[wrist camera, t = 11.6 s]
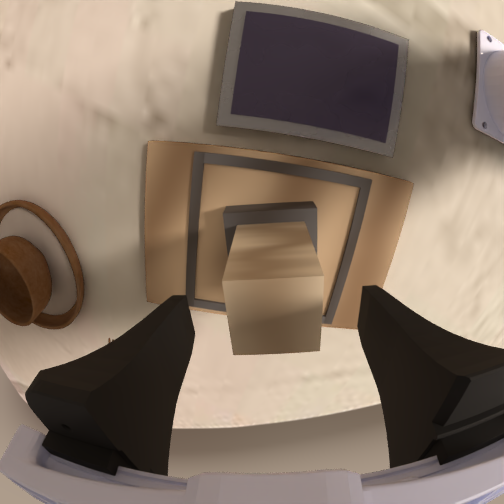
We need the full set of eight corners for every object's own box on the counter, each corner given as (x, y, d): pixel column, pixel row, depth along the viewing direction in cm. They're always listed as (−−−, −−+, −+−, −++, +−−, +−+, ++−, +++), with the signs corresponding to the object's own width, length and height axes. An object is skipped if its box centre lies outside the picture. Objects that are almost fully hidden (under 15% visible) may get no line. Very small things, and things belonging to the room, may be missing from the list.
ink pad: (401, 42, 13) (409, 38, 12) (386, 155, 16) (394, 157, 15) (237, 7, 13) (235, 0, 12) (219, 125, 16) (215, 125, 15)
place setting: (125, 216, 19) (80, 251, 14) (129, 395, 27) (111, 438, 22) (-22, 184, 18) (-66, 204, 13) (9, 343, 26) (-15, 373, 21)
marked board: (409, 181, 17) (415, 184, 16) (363, 325, 21) (366, 331, 20) (151, 140, 16) (146, 141, 16) (149, 297, 21) (146, 303, 20)
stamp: (313, 200, 17) (344, 256, 10) (313, 277, 19) (334, 360, 12) (226, 206, 17) (199, 264, 10) (234, 281, 19) (219, 366, 12)
